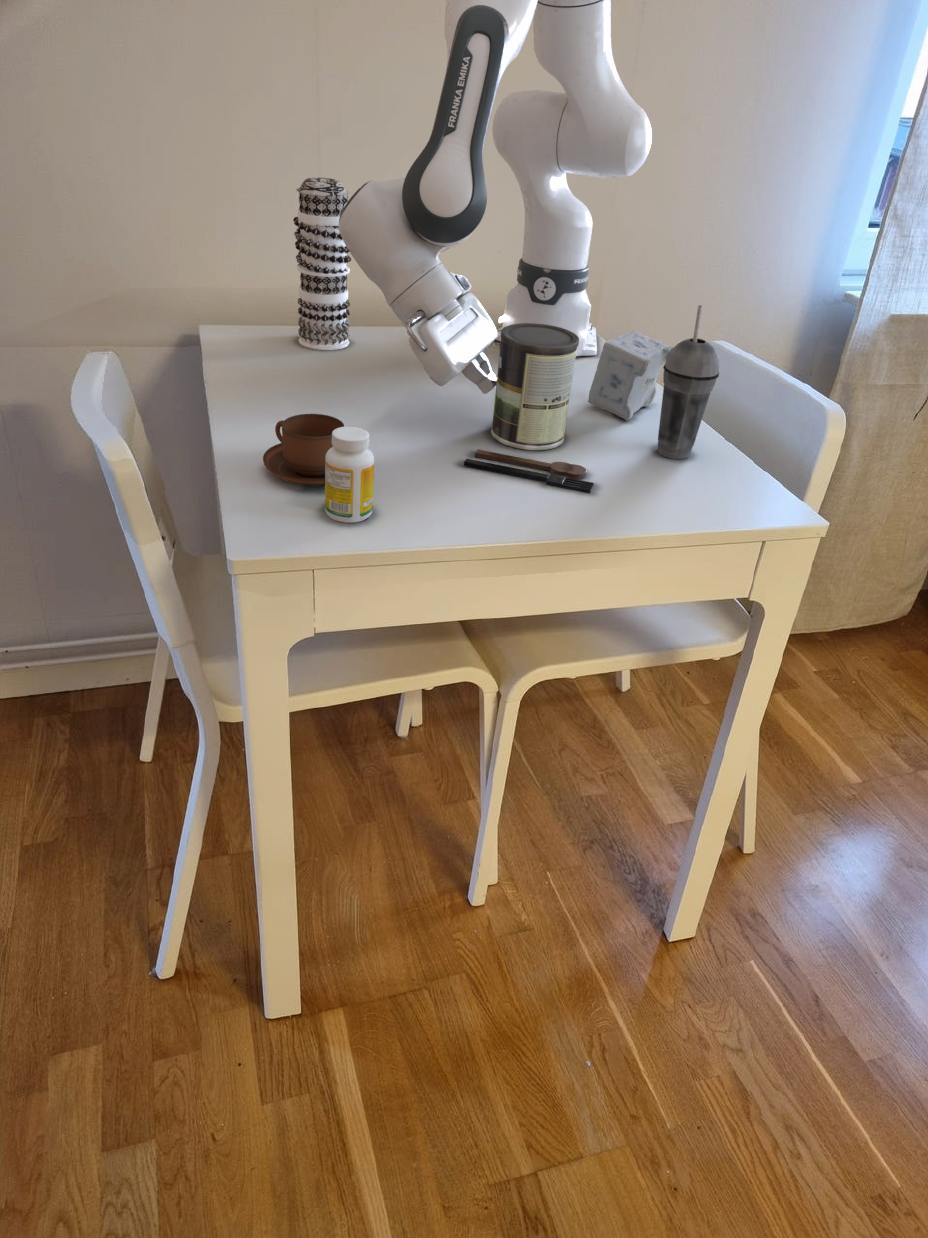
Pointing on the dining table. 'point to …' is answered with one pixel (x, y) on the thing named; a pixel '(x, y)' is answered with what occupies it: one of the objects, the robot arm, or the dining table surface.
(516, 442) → the coffee can
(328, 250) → the decorative candle
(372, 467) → the supplement bottle
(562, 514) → the dining table surface
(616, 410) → the incense holder
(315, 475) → the cup and saucer
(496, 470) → the fork
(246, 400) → the dining table surface
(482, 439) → the dining table surface
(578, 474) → the spoon
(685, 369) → the beverage cup
